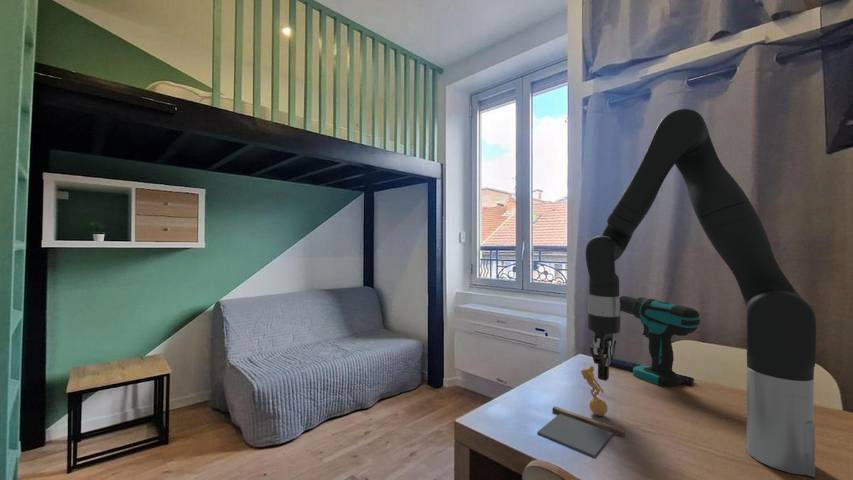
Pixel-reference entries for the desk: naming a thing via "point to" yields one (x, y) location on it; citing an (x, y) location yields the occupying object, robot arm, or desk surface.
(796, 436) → the robot arm
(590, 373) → the figurine
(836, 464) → the desk surface
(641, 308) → the power drill
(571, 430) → the mat
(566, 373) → the desk surface
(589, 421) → the bar
